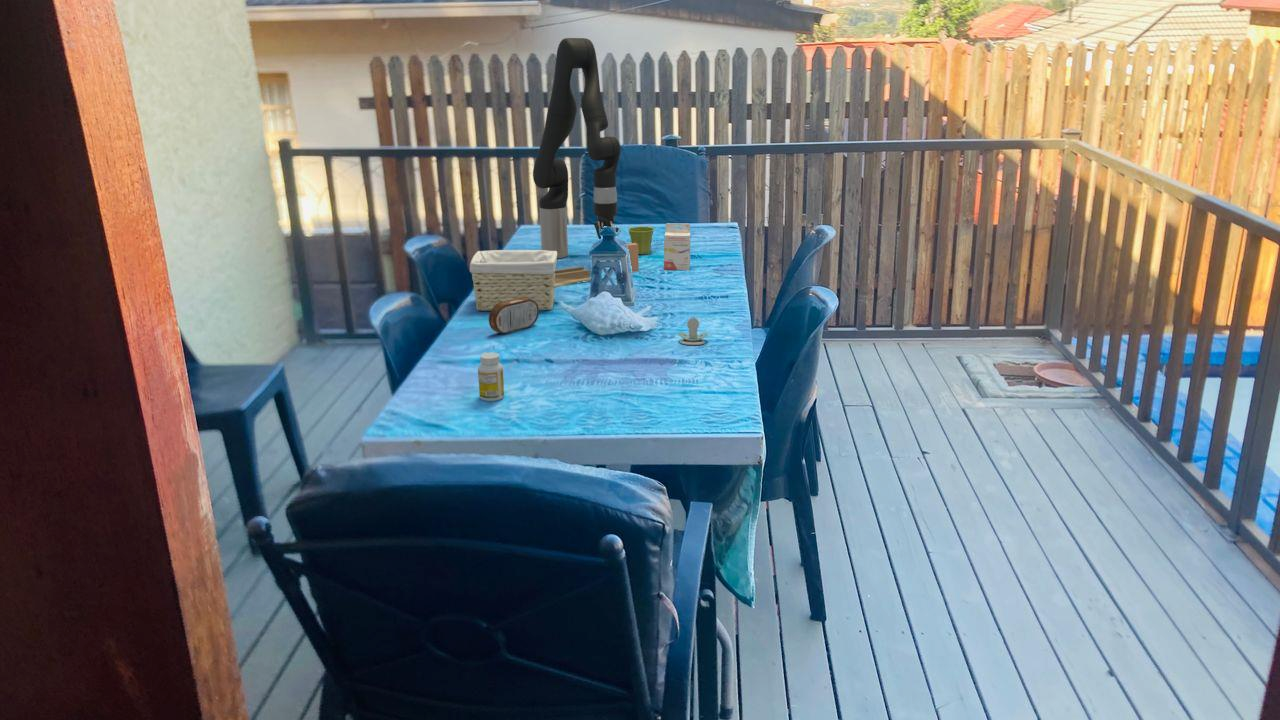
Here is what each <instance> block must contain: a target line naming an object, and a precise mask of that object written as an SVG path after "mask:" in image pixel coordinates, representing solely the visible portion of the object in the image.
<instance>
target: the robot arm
mask: <svg viewBox="0 0 1280 720" xmlns="http://www.w3.org/2000/svg"><path fill="white" fill-rule="evenodd" d="M596 54H597V52H596V49H595V46H594V44H593V42H592V40H591V39H589V38H586V37H585V38H583V37H565V38H563V39H561V41H559V44H558V46H557V50H556V56H555V57H556V58H555V65H554V67H555V68H554V75H553V82H552V88H551V89H552V90H551V94H550V100H549V104H548V108H547V113H546V119H545V124H544V130H543V134H542V138H541V142H540V146H539V149H538V151H537V154H536V158H535V162H534V165H533V169H532V179H533V182H534V184H535V186H537V187H538V188H539V189H548V191H547V193H546V194H545V195H543V196H542V197H541V198H539V201H538V202H539V203H538V204H539V224H540V227H539V228H540V246H541V250H547V251H557V259H561V258H562V259H563V258H566V257H568V256H569V243H568V242H569V241H568V215H567V214H568V213H567V212H568V210H567V202H568V198H569V171H568V167H567V163H565V161H564V160H562V159H561V158H556V156H557V154H558V151H559V149H560V148H561V147H562V145H563V144H564V142H565V141H566V140H567V138H568V137H569V136H570V134H571V132H572V130H573V128H574V125H575V120H576V116H577V109H578V108H577V103H576V100H575V96H574V95H573V91H572V88H571V87H572V86H571V78H572V75H573V70H574V69H581V70H582V71H581V72H582V73H583V76H584V89H583V94H582V98H581V105H580V106H581V111H582V112H581V113H582V115H583V120H584V123H585V127H586V151H587V154H588V156H589V157H590V158H591V160H593V161H594V162H595V161H597V162H598V161H604V162H603V163H602V165H601V166H600V167H597V168H595V169H594V171H593V215H594V216H595V217H597V221H596V222H594V223H593V225H594V228H595V231H596V234H597V235H596V236H597V237H598V240H601V236H600V235H599V233H600V231H601V229H602V228H603V227H604V226H610V227H613V228H614V229H615V230H616V232H617V233H618V232H619V228H618V227H615V219H614V217H616V216H617V215H618V193H617V192H618V191H617V181H616V180H617V178H616V177H617V176H616V175H617V169H618V164H619V161H620V157H621V144H620V142H619V140H618V138H616V137H615V136H605V137H603V136H600V135H601V134H600V133H601V132H603V131H605V130H607V128H609V120H608V117H607V113H606V111H605V106H604V102H603V98H602V92H601V86H600V85H601V84H600V78H599V68H598V60H597V55H596Z"/></svg>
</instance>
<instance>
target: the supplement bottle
mask: <svg viewBox="0 0 1280 720" xmlns="http://www.w3.org/2000/svg"><path fill="white" fill-rule="evenodd" d="M479 358H480V364H479V365H478V366H477V375H478V377H477V378H478V391H479V399H481V400H482V401H485V402H496V401H500V400H502V399H503V398H504V397H505V388H504V387H505V386H504V385H505V383H504V367H503V365H502V364H501V363H500V354H498V353H497V352H486V353H482V354H481V355H480V356H479Z"/></svg>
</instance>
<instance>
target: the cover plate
mask: <svg viewBox="0 0 1280 720" xmlns="http://www.w3.org/2000/svg"><path fill="white" fill-rule="evenodd" d="M625 244H626V245H627V246H628V249H629V253H630V260H631V266H632V271H633V272H634V271H635V272H639V268H640V267H639V255H638V244H636V243H631V242H630V243H625ZM633 272H632V273H633Z"/></svg>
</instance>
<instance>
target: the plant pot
mask: <svg viewBox="0 0 1280 720" xmlns="http://www.w3.org/2000/svg"><path fill="white" fill-rule="evenodd" d="M654 231H655V228H654V227H652V226H634V227H629V228H627V232H628V233H629V234H628V235H630V243H636V244H638V254H641V256H642V255H649V254H651V248H652V240H653V239H652V238H653V235H654Z"/></svg>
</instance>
